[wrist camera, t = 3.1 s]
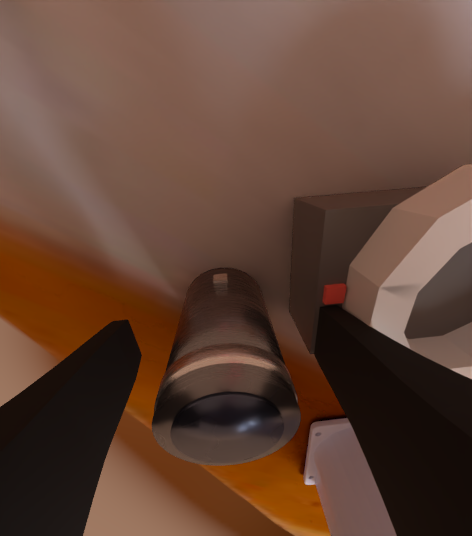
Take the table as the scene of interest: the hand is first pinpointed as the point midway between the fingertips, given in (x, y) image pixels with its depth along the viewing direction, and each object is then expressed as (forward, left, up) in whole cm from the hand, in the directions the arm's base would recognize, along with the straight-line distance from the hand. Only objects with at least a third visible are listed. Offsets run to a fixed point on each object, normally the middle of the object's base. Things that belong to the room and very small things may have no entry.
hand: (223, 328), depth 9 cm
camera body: (+2, -9, -2) cm, 9 cm away
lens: (0, 0, -2) cm, 2 cm away
